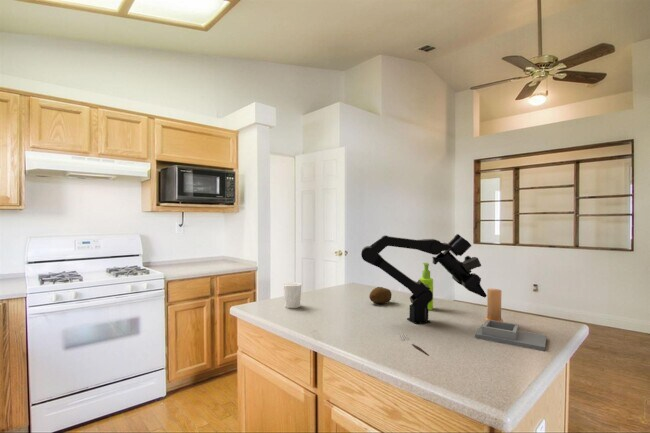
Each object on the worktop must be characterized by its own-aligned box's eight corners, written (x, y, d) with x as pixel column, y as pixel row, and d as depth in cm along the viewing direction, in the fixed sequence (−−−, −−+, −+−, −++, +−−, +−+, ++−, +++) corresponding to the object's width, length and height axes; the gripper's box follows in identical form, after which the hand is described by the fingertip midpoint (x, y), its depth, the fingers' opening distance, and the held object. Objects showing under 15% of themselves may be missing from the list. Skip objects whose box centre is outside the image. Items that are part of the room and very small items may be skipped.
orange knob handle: (494, 327, 128) (494, 292, 128) (481, 322, 134) (482, 289, 133) (506, 325, 130) (506, 291, 130) (493, 321, 136) (493, 287, 136)
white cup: (280, 307, 153) (281, 285, 153) (287, 303, 161) (288, 282, 161) (297, 309, 151) (297, 286, 151) (303, 304, 158) (304, 283, 158)
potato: (395, 303, 163) (395, 286, 163) (378, 307, 155) (378, 290, 155) (382, 299, 169) (382, 284, 169) (364, 303, 161) (365, 287, 161)
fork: (424, 357, 101) (424, 351, 101) (398, 339, 116) (398, 333, 116) (432, 356, 102) (432, 350, 102) (405, 338, 117) (405, 332, 117)
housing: (474, 337, 117) (474, 326, 117) (482, 327, 128) (482, 317, 128) (544, 351, 106) (544, 339, 106) (546, 338, 116) (546, 327, 116)
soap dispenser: (430, 306, 157) (431, 262, 157) (434, 310, 151) (434, 264, 150) (417, 305, 158) (418, 262, 158) (420, 309, 151) (420, 264, 151)
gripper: (474, 252, 124) (507, 284, 122) (460, 247, 142) (488, 275, 141) (452, 274, 124) (484, 305, 123) (440, 266, 143) (468, 293, 142)
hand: (481, 293), depth 132 cm, fingers open, 9 cm apart
